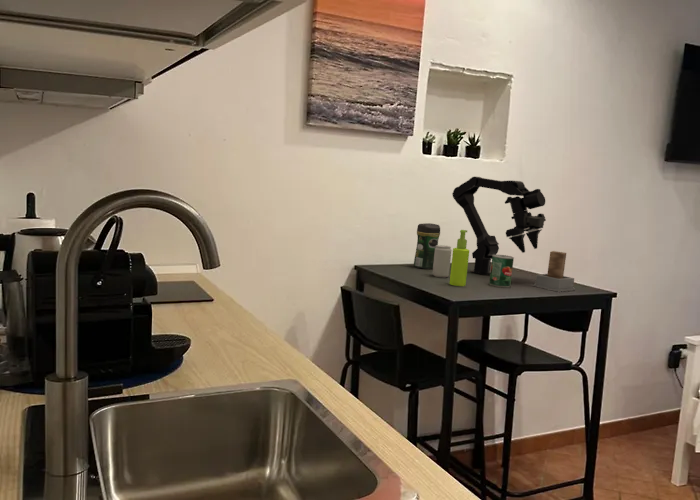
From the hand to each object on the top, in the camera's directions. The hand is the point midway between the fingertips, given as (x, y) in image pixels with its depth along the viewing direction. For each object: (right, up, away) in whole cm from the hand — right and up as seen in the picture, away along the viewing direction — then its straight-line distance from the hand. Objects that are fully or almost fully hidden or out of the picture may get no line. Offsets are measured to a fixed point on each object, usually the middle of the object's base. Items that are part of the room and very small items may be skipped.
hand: (529, 250), depth 251 cm
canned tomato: (-14, -13, -10) cm, 22 cm away
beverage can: (-35, -10, -2) cm, 37 cm away
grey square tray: (+7, -14, -7) cm, 17 cm away
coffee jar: (-39, -7, +16) cm, 43 cm away
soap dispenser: (-31, -13, -17) cm, 38 cm away
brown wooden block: (+7, -13, -7) cm, 17 cm away
